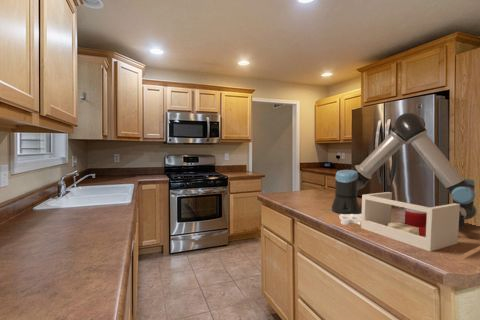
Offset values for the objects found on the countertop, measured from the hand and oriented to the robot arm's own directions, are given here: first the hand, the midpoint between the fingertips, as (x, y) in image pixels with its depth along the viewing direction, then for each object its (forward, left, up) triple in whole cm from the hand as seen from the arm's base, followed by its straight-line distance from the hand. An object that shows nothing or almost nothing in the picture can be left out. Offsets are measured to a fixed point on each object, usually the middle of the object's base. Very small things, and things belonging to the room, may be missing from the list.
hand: (425, 219), depth 109 cm
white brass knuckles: (-24, -13, -7) cm, 28 cm away
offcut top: (-1, -15, -3) cm, 15 cm away
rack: (-1, -12, -6) cm, 13 cm away
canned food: (-1, -6, -7) cm, 9 cm away
